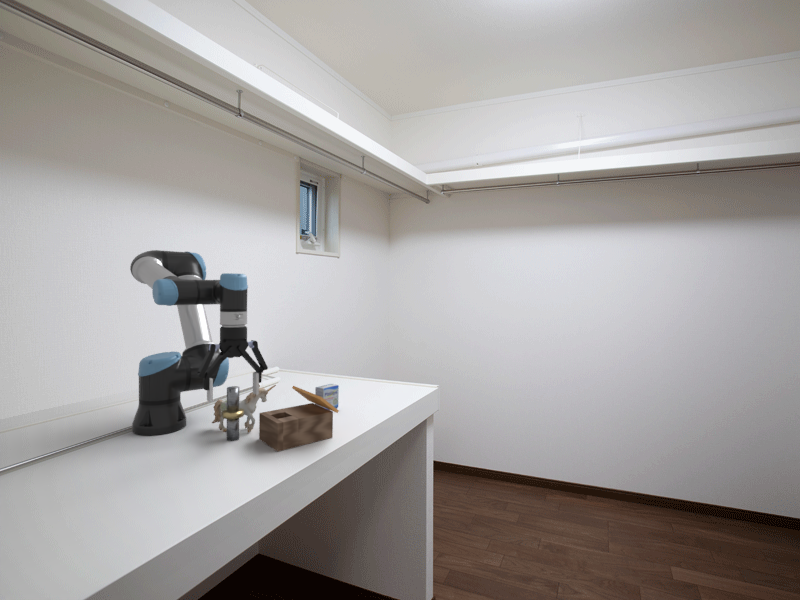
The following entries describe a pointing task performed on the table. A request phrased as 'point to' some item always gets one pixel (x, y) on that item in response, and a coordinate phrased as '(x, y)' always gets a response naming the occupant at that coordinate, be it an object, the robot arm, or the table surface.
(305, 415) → the block
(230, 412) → the pin
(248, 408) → the unicorn figurine
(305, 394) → the latch flap
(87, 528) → the table surface
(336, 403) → the medicine box
